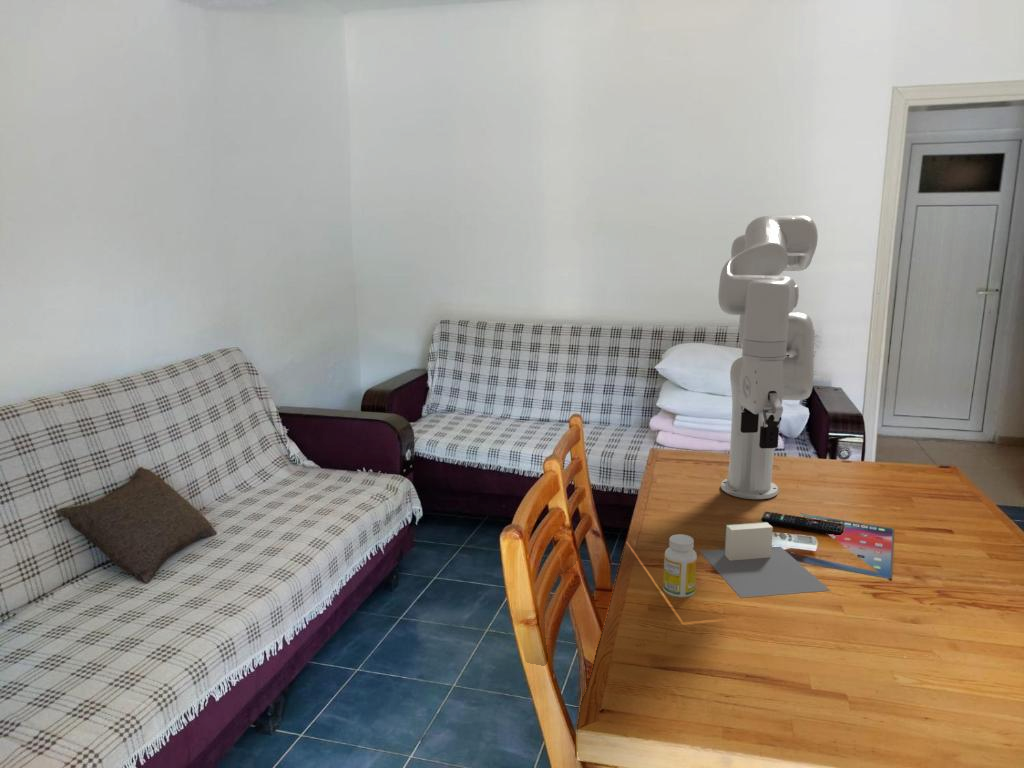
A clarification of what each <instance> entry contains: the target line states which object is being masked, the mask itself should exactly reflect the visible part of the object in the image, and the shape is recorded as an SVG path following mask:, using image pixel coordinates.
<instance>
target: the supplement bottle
mask: <svg viewBox="0 0 1024 768" xmlns="http://www.w3.org/2000/svg"><path fill="white" fill-rule="evenodd" d="M668 540H669V541H668V544H669V547H668V548H666V549H665V551H664V557H663V558H664V559H663V560H664V562H663V579H662V580H663V582H662V589H663V591H664V592H665V594H668V595H669V596H671V597H677V598H687V597H690V596H693V595H694V594H695V592H696V581H697V580H696V578H697V563H698V562H697V559H698V554H697V551H695V549H694V546H695V545H694V543H695V541H694V538H693V536H690V535H688V534H687V535H686V534H683V533H682V534H673V535H671V536H670V537H669V538H668Z"/></svg>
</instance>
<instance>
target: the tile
mask: <svg viewBox="0 0 1024 768" xmlns="http://www.w3.org/2000/svg"><path fill="white" fill-rule="evenodd" d="M773 531H774V527H773V526H772V525H771V524H770V523H769V522H767V521H762V522H751V523H750V522H749V523H748V522H746V523H733V524H725V535H724V536H725V537H724V549H725V552H724V555H725V556H726V557H727V558H728V559H729V560H743V559H756V558H769V557H771V547H772V546H773V544H772V543H773Z"/></svg>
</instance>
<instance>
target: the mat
mask: <svg viewBox="0 0 1024 768" xmlns="http://www.w3.org/2000/svg"><path fill="white" fill-rule="evenodd" d="M786 551H787V550H785V549H784V548H783V547H782V546H780V547H771V557H769V558H756V559H743V560H729V559H728V558H727V557H726V556H725V555H724V552H725V548H723V549H709V550H708V549H707V550H699V553H700V554H701V555H702V556H703V557H704V559H705V560H706V561H707V562H708V563H709V564H710V565H711V567H712V568H713V569H714V570H715V571H716V572H717V573H718V574H719V575H720V576H721V578H723V580H724V581H725V582H726V583H727V585H728V586H730V588H731V589H732V590H733V591H734V592H735V593H736V595H737V596H738V597H739V599H746V598H758V597H770V596H782V595H783V596H785V595H792V594H794V595H795V594H806V593H815V592H816V593H818V592H830V591H831V589H830V588H829V587H827V585H825V584H824V583H823V582H822V581H821V580H819V579H818V578H817V577H816V576H814V575H813V573H812V572H810V571H809V570H808V569H806V568H805V567H804V566H803V565H802V563H801V562H797V561H796V560H795V559H794V558H793V557H792V556H791V555H789V554H788V553H787V552H786Z"/></svg>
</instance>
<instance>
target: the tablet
mask: <svg viewBox="0 0 1024 768" xmlns="http://www.w3.org/2000/svg"><path fill="white" fill-rule="evenodd" d="M799 514H800V515H801V516H802V517H804V518H805V517H806V518H805V519H807V518H814V519H820V520H827V521H831V522H838V523H843V524H844V526H845V530H844V533H842V534H841V535H834V534H827V535H828V536H829V537H831V538H832V539H833V540H835V542H837V543H838V544H840V545H842V546H843V547H844V548H845V549H847V550H848V551H849V552H850V553H852V554H853V555H855V556H856V557H858V558H859V559H860V560H861V561H862V562H864V563H866V565H869V566H870V568H872V569H873V570H875V571H873V570H868V569H864V568H859V567H856V566H851V565H847V564H843V563H837V562H835V561H830V560H826V559H820V558H816V557H812V556H809V555H804V554H800V553H796V552H792V551H787V550H785V551H786V552H787V553H788V554H789V555H791V556H792V557H793V558H794V559H795V560H796V561H797V562H799V563H800V564H807V565H813V566H818V567H823V568H828V569H833V570H838V571H844V572H849V573H855V574H860V575H865V576H871V577H875V578H880V579H881V578H882V579H886V580H888V581H889V582H890V581H893V570H894V569H893V566H894V543H895V529H893V528H891V527H887V526H879V525H875V524H867V523H862V522H855V521H850V520H842V519H837V518H831V517H825V516H819V515H812V514H807V513H806V514H805V513H799Z"/></svg>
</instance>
